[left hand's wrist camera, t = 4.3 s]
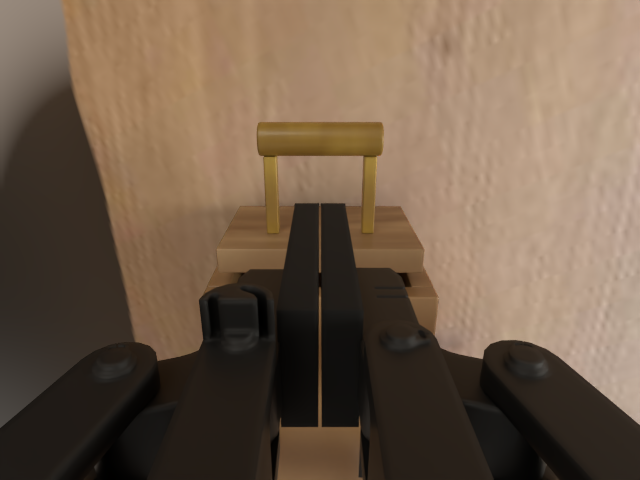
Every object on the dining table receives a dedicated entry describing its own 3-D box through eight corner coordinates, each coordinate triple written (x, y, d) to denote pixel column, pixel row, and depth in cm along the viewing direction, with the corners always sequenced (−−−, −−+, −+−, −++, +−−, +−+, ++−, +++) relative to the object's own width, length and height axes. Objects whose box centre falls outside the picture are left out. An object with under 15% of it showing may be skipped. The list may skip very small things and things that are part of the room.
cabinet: (235, 230, 28) (201, 297, 20) (405, 230, 28) (439, 297, 20) (251, 449, 35) (231, 564, 27) (389, 449, 35) (409, 565, 27)
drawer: (233, 112, 25) (204, 129, 18) (407, 112, 25) (436, 129, 18) (255, 426, 33) (240, 510, 27) (385, 427, 33) (400, 510, 27)
